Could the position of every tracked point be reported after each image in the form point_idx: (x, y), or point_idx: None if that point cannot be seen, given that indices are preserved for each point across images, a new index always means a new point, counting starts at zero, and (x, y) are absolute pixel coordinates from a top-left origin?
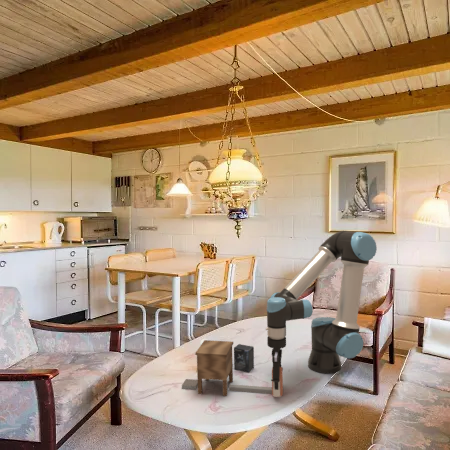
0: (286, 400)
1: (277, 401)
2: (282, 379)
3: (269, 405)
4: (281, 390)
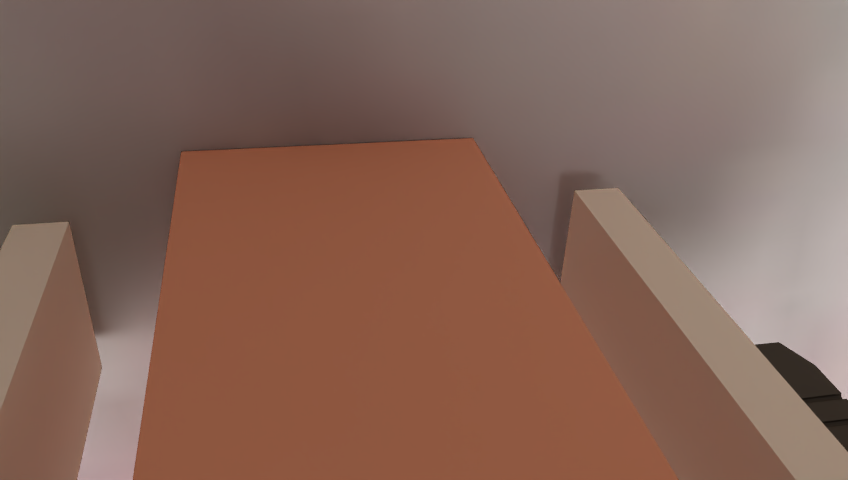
0: (681, 17)
1: (709, 204)
2: (259, 376)
3: (833, 312)
4: (514, 222)
